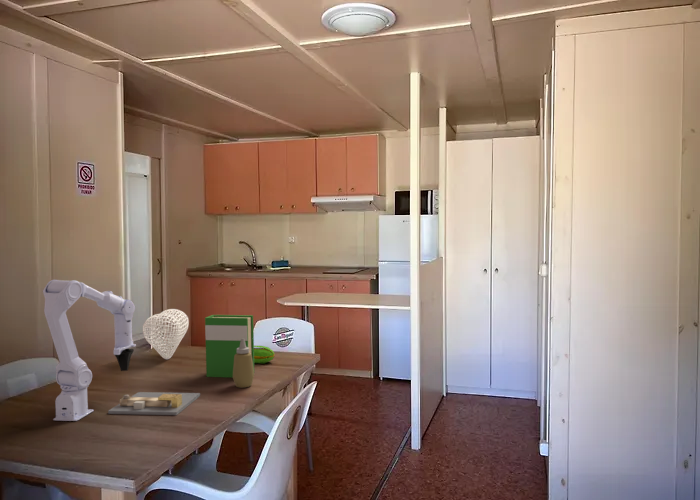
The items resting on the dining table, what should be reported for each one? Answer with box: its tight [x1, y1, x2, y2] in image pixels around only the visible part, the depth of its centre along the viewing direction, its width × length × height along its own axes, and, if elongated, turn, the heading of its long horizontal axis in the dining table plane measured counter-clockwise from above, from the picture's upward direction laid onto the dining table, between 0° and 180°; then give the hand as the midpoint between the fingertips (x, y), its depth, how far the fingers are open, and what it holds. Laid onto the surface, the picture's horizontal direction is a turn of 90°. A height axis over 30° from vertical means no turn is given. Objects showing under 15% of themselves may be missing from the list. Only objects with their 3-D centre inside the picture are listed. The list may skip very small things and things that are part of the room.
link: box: [119, 394, 171, 407], centre depth 178 cm, size 17×4×3 cm, turn 83°
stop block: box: [134, 401, 145, 409], centre depth 176 cm, size 2×3×2 cm, turn 84°
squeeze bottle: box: [232, 338, 255, 389], centre depth 203 cm, size 8×8×18 cm
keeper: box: [158, 394, 182, 408], centre depth 178 cm, size 4×6×3 cm, turn 84°
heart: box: [142, 308, 190, 360], centre depth 247 cm, size 28×16×22 cm, turn 179°
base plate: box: [107, 391, 201, 416], centre depth 182 cm, size 20×23×1 cm
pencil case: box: [254, 345, 275, 365], centre depth 240 cm, size 7×8×20 cm
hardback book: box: [204, 314, 255, 379], centre depth 218 cm, size 18×7×24 cm, turn 81°
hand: (124, 370), depth 192 cm, fingers closed
